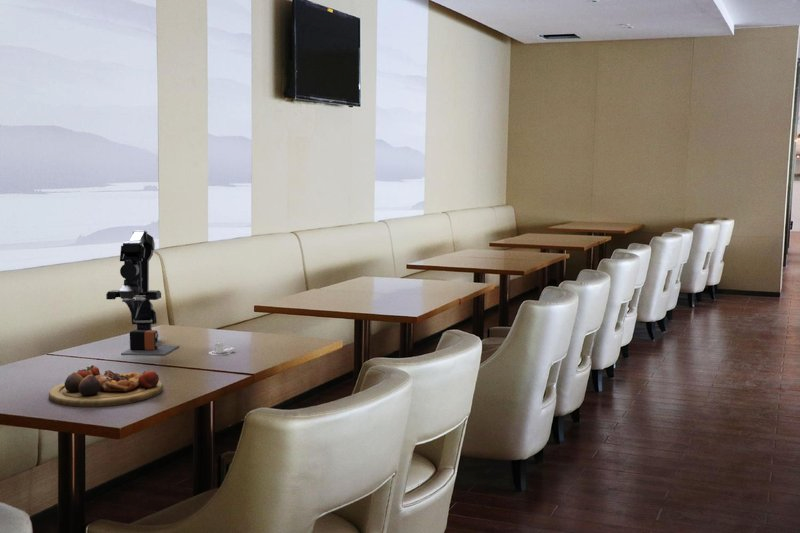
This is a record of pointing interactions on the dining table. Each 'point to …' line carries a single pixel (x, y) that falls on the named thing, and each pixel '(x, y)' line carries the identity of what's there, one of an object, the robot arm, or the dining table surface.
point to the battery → (144, 340)
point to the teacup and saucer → (221, 349)
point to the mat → (152, 351)
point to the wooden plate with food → (105, 388)
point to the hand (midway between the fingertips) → (134, 318)
